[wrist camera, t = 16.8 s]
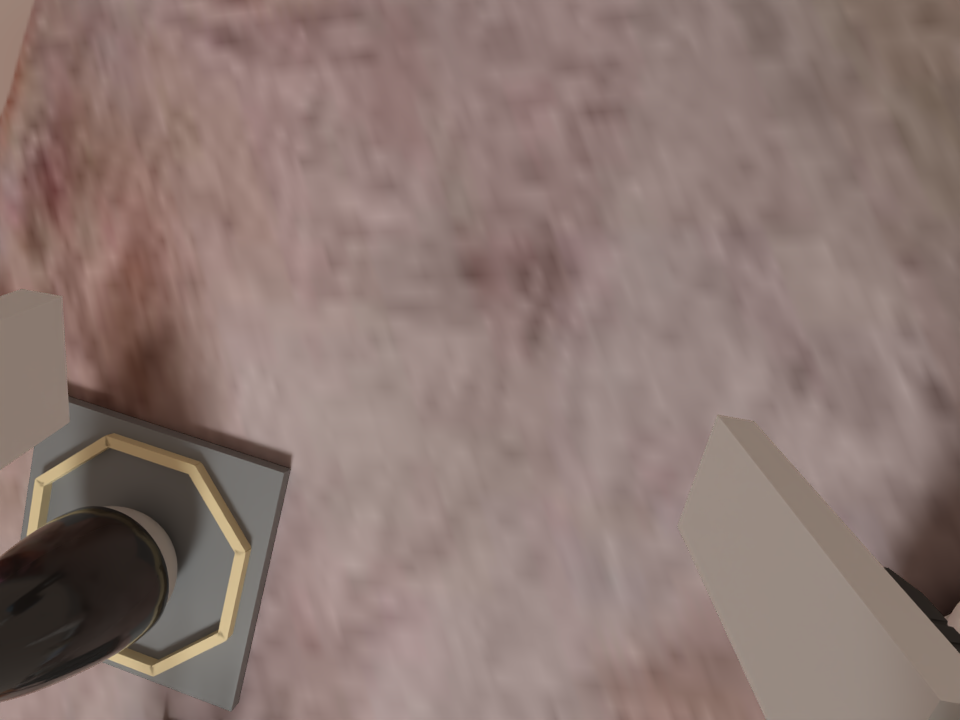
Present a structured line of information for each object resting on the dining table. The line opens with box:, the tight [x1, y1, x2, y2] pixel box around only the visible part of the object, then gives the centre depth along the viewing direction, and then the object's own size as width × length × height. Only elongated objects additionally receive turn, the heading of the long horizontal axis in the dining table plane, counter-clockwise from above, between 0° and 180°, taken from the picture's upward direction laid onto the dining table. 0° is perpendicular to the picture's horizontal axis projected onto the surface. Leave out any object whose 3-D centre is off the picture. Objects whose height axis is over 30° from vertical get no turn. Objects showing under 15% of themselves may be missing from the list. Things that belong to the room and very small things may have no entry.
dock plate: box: [20, 396, 290, 711], centre depth 47 cm, size 20×20×2 cm
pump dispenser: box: [0, 506, 177, 702], centre depth 39 cm, size 10×10×15 cm
